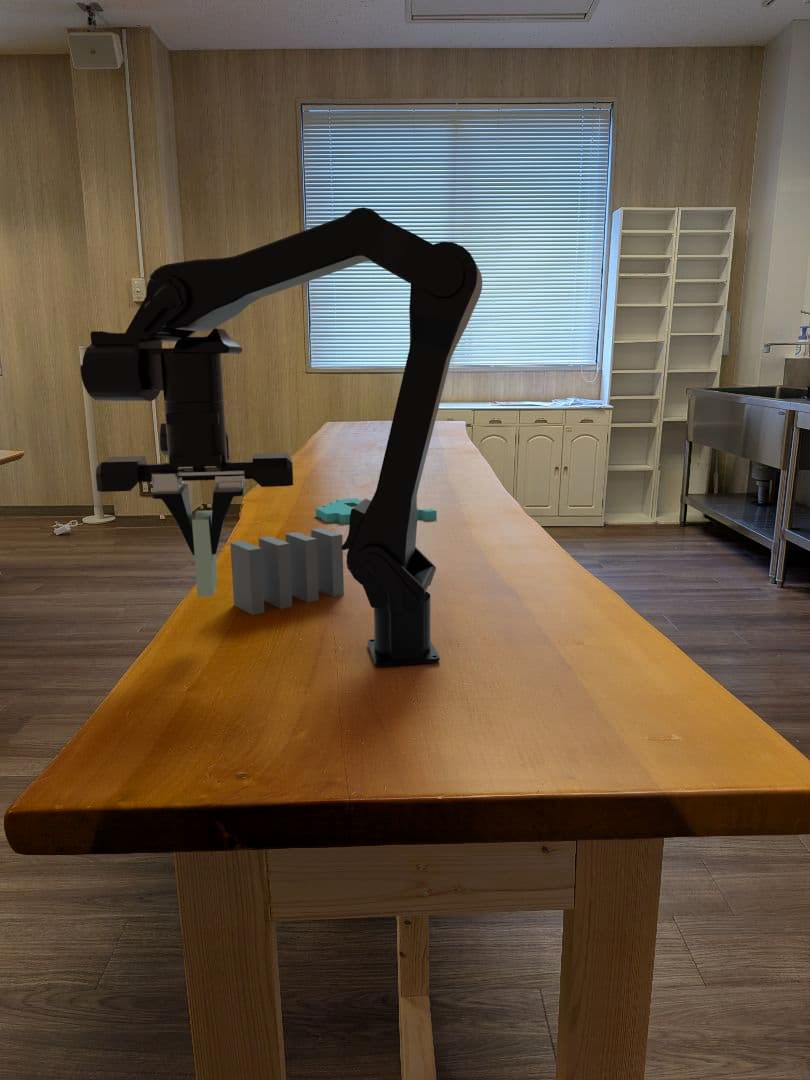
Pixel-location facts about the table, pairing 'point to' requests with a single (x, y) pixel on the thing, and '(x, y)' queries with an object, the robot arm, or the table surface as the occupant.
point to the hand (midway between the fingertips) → (204, 554)
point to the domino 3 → (303, 566)
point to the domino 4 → (329, 561)
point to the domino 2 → (276, 572)
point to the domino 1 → (247, 577)
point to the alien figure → (343, 507)
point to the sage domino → (204, 554)
